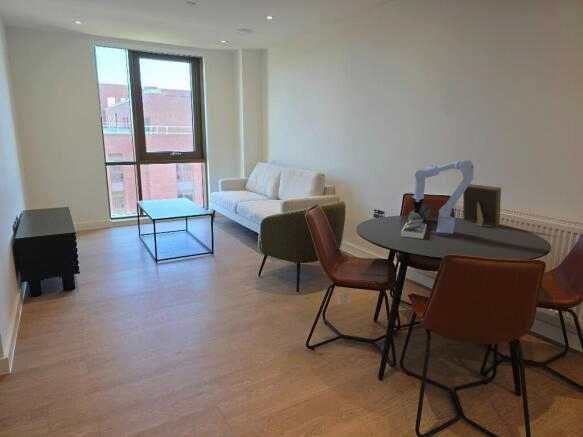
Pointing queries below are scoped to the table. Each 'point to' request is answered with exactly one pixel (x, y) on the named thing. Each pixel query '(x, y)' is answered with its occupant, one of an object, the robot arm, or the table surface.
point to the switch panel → (414, 232)
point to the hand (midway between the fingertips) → (417, 211)
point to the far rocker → (415, 221)
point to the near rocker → (413, 226)
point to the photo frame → (482, 204)
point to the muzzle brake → (421, 215)
